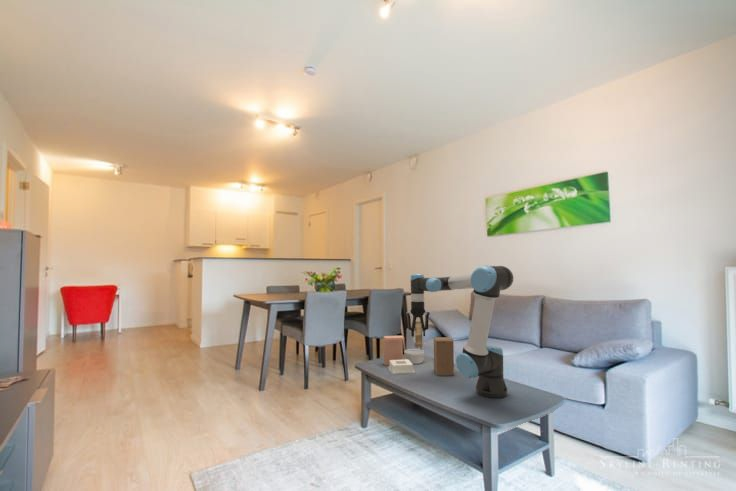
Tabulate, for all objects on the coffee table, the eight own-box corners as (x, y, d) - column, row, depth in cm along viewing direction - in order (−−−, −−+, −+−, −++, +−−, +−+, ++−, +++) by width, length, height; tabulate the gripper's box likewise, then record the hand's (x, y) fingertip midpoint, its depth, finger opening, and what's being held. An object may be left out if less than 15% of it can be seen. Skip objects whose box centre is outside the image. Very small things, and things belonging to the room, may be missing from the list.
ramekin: (400, 360, 240) (400, 350, 240) (417, 358, 245) (417, 348, 245) (411, 365, 228) (411, 354, 228) (428, 363, 233) (428, 352, 233)
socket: (415, 373, 211) (415, 365, 211) (391, 374, 209) (391, 366, 209) (409, 366, 225) (409, 358, 225) (387, 367, 223) (387, 359, 223)
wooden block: (454, 375, 207) (453, 340, 208) (436, 375, 207) (436, 340, 208) (450, 370, 217) (450, 337, 218) (433, 370, 217) (433, 337, 218)
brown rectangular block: (404, 366, 225) (404, 337, 226) (385, 367, 224) (385, 338, 225) (402, 363, 232) (401, 335, 233) (383, 364, 231) (383, 336, 232)
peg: (422, 347, 203) (422, 322, 204) (415, 347, 202) (415, 322, 203) (420, 346, 207) (420, 321, 207) (414, 346, 206) (413, 321, 207)
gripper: (430, 300, 211) (430, 340, 209) (401, 300, 209) (402, 341, 207) (433, 301, 203) (434, 343, 202) (404, 301, 201) (405, 344, 200)
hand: (418, 342), depth 205 cm, fingers closed on peg, 4 cm apart
